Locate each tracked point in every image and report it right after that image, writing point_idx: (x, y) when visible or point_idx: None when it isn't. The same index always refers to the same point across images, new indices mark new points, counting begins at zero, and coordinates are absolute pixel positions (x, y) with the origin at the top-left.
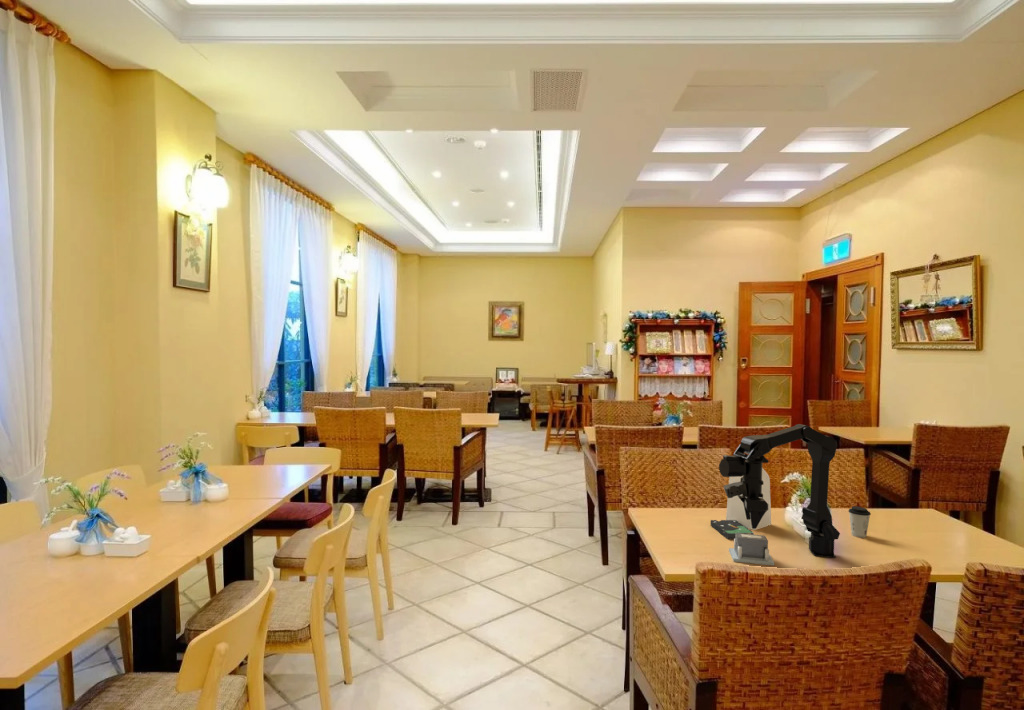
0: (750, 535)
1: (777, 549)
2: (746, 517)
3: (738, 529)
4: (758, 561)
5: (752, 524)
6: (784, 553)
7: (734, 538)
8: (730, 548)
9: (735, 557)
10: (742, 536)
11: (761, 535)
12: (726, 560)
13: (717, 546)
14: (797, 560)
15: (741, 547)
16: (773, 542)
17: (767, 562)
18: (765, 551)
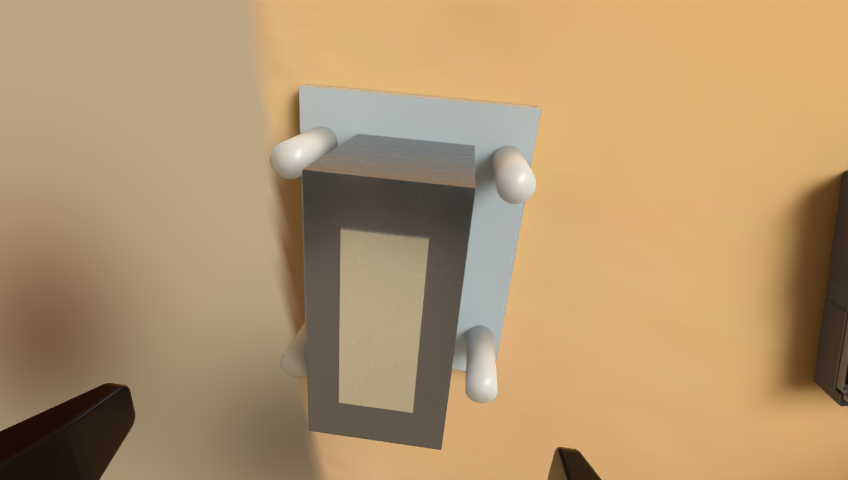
0: (404, 327)
1: (598, 444)
2: (562, 467)
3: None
4: (303, 261)
5: (31, 427)
6: (530, 455)
7: (839, 234)
8: (532, 120)
9: (323, 108)
10: (349, 234)
11: (436, 424)
12: (316, 28)
13: (652, 21)
14: (427, 475)
15: (281, 173)
16: (731, 467)
17: (305, 311)
18: (290, 345)
